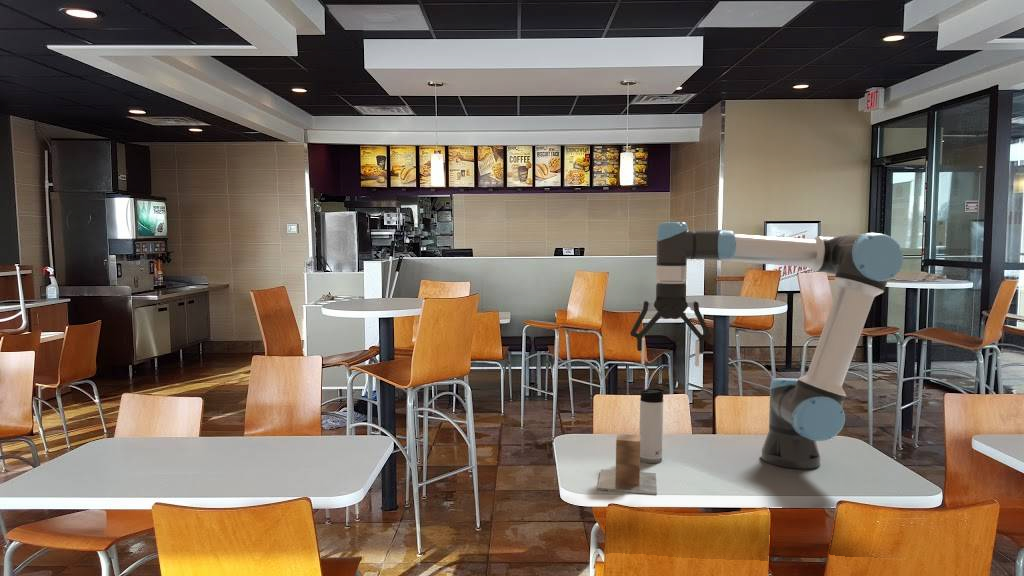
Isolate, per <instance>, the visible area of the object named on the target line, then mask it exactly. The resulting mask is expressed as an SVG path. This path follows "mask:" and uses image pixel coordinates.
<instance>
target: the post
mask: <svg viewBox="0 0 1024 576" xmlns="http://www.w3.org/2000/svg"><path fill="white" fill-rule="evenodd" d="M615 482H616V469H615V470H614V469H604V468H601V469H600V473H599V478H598V484H597V489H596V490H597V491H602V490H609V491H608V492H615V491H620V492H619V493H628V492H631V493H632V494H644V495H658V490H657V473H655V472H645V471H644V472H643V471H641V472H640V483H639V485H631V484H618V483H615ZM631 493H630V494H631Z"/></svg>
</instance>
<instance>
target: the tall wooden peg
mask: <svg viewBox="0 0 1024 576" xmlns="http://www.w3.org/2000/svg"><path fill="white" fill-rule="evenodd" d="M615 443H616V444H615V470H616V482H615V483H618V484H631V485H639V483H640V470H641V460H640V434H628V433H627V434H624V433H617V434H616V438H615Z"/></svg>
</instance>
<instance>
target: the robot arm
mask: <svg viewBox="0 0 1024 576" xmlns="http://www.w3.org/2000/svg"><path fill="white" fill-rule="evenodd" d="M656 233H657V235H656V240H655V241H656V269H655V270H656V271H655V274H656V278H655V279H656V281H657V283H656V284H655V301H648V300H646V299H645V300H644V301H643V307H642V310H641V312H640V313H639V316H638V317H637V319H636V321H635V323H634V325H633V327H632V329H631V330H630V336H631V337H633V338H636V340H637V342H636V343H637V344H636V346H637V347H636V349H637V351H638V352H641V365H645V357H646V356H645V355H646V354H645V353H646V349H645V348H646V347H645V346H646V338H645V337H644V336H645V335H646V334H647V333H648V331H650V330H651V328H652V327H653V326H654V325H655V324H656V323H657V321H659V320H660V319H661V318H663V319H664V320H667V319H673V320H677V319H679V318H681V319H682V320H683V322H684V323H685V324H686V325H687V326H688V328H689V329H690V330H691V331H692V332H693V334H694V335H695V336H696V337H697V338H698V339H695V345H694V349H695V350H694V351H695V352H694V353H695V354H694V360H695V361H694V365H695V367H699V366H700V364H699V363H700V354H703V353H704V352H705V351H704V349H705V348H704V345H705V340H707V339H710V338H711V337H712V334H711V331H710V329H709V327H708V326H707V323H706V321H705V320H704V318H703V316H702V314H701V312H700V306H699V302H698V301H696V300H695V301H692V302H688V301H687V285H686V283H685V282H686V281H687V261H688V260H705V261H706V260H708V261H710V260H711V261H723V262H725V261H726V262H734V263H735V262H738V263H749V264H762V265H773V266H774V265H776V266H777V265H778V266H787V267H788V266H789V267H800V268H809V269H811V271H812V272H817V273H818V272H819V273H826V274H827V273H828V274H832V275H835V276H834V281H835V283H836V284H837V290H836V292H835V295H834V298H833V299H832V304H831V306H830V308H829V311H828V315H827V317H826V320H825V323H824V326H823V329H822V331H821V334H820V336H819V340H818V343H817V345H816V348H815V350H814V353H813V355H812V359H811V362H810V363H809V367H808V370H807V373H806V374H805V375H803V376H801V377H797V378H793V377H789V378H788V377H782V378H781V377H780V378H779V377H777V378H776V377H775V378H773V379H772V380H771V381H770V386H769V415H768V416H769V419H768V422H769V423H768V431H767V435H766V437H765V440H764V442H763V445H762V447H761V459H762V461H765V462H766V463H768V464H771V465H774V466H776V467H777V466H778V467H782V468H788V469H797V470H800V469H801V470H806V469H807V470H808V469H816V468H819V467H820V466H821V454H820V450H819V448H818V444H817V442H825V441H828V440H831V439H833V438H834V437H836V436H837V435H838V434H839V433H840V432H841V431H842V430H843V428H844V425H845V422H846V414H845V412H844V409H843V404H844V402H845V398H846V396H847V394H846V392H845V391H844V389H843V385H844V382H845V380H846V379H845V378H846V376H847V374H848V371H849V369H850V365H851V363H852V359H853V357H854V355H855V352H856V348H857V347H858V346H857V345H858V342H859V340H860V338H861V335H862V333H863V330H864V327H865V324H866V321H867V318H868V315H869V313H870V311H871V307H872V304H873V301H874V300H875V297H877V296H879V295H881V294H883V293H884V292H885V289H886V288H887V287H886V286H887V284H888V282H889V280H891V279H893V278H894V277H896V276H897V275H898V274H899V273H900V272H901V269H902V267H903V264H904V253H903V249H902V248H901V246H900V244H899V242H897V240H895V239H894V238H893V237H892V236H890V235H888V234H883V233H877V232H867V233H856V234H855V233H853V234H846V235H845V234H844V235H836V236H834V235H833V236H820V235H819V236H815V237H814V238H813V239H809V238H797V237H795V238H793V237H782V236H779V237H778V236H766V235H755V234H754V235H753V234H741V233H739V234H738V233H737V234H736V233H735V232H734V231H733V230H723V229H708V230H707V229H706V230H705V229H702V230H701V229H700V230H699V229H698V230H693V229H689V228H688V224H687V223H686V222H684V221H682V222H681V221H680V222H679V221H675V222H674V221H667V222H666V221H664V222H663V221H662V222H660V223H659V224H658V225H657V232H656ZM653 307H654V309H655V311H656V313H655V314H654V316H653V317H652V318H651V319H650V320H649V321H648V322H647V323H646V325H645V326H644V327H642V329H641V330H640V331H639V332H638V329H639V328H640V326H641V324H642V322H643V320H644V318H645V317H646V315H647V312H648V310H649V311H650V310H651V309H652V308H653ZM688 308H690V310H691V311H693V312H694V315H695V316H696V319H697V320H698V323H699V325H700V326H701V328H702V331H703V334H702V333H701V332H700V331H699V329H698V328H697V327H696V326H695V325H694V323H693V322H692V321H691V320H690V319H689V318H688V317H687V315H686V314H685V312H686V310H687V309H688Z"/></svg>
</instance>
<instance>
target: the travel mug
mask: <svg viewBox="0 0 1024 576" xmlns="http://www.w3.org/2000/svg"><path fill="white" fill-rule="evenodd" d="M665 392H666V389H665V388H657V387H655V388H653V387H652V388H646V389H642V390H641V391H640V398H639V399H640V400H639V435H640V462H643V463H647V464H660V463H661V462H662V461H663V440H664V439H663V437H664V435H663V434H664V433H663V432H664V393H665Z"/></svg>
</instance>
